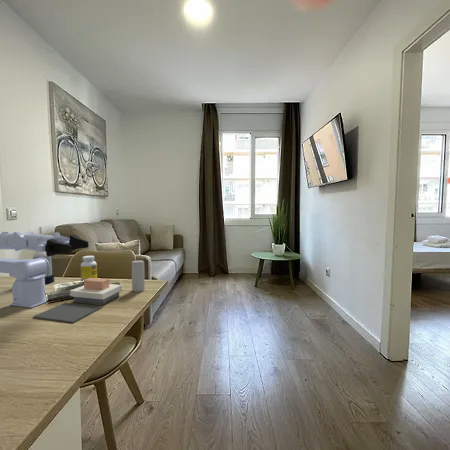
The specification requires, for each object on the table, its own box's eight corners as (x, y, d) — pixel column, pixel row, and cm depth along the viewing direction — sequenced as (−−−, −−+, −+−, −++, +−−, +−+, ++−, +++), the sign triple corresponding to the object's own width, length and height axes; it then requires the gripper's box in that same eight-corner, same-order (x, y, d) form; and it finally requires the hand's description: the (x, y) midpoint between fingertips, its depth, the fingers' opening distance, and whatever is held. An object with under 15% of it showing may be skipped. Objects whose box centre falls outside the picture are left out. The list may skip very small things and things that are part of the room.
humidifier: (37, 280, 123) (34, 226, 121) (57, 279, 125) (54, 226, 123) (28, 285, 115) (25, 227, 113) (50, 284, 117) (47, 227, 115)
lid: (70, 296, 96) (69, 282, 95) (91, 287, 106) (91, 274, 105) (103, 299, 92) (102, 285, 92) (122, 290, 103) (121, 277, 102)
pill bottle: (90, 284, 117) (89, 258, 117) (77, 283, 119) (76, 257, 118) (100, 280, 124) (99, 255, 123) (88, 279, 125) (87, 254, 124)
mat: (32, 317, 83) (32, 316, 83) (64, 304, 94) (64, 302, 94) (73, 323, 79) (73, 321, 79) (101, 308, 91) (101, 306, 91)
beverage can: (133, 288, 112) (133, 260, 111) (145, 288, 112) (145, 260, 111) (130, 292, 107) (130, 262, 106) (143, 292, 107) (142, 262, 107)
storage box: (74, 301, 96) (73, 292, 96) (92, 293, 105) (91, 285, 105) (102, 305, 93) (102, 295, 93) (119, 296, 102) (118, 287, 102)
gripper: (25, 234, 85) (61, 238, 82) (61, 229, 99) (94, 231, 96) (26, 256, 86) (62, 260, 83) (62, 247, 100) (94, 251, 97)
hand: (79, 246), depth 90 cm, fingers open, 7 cm apart
